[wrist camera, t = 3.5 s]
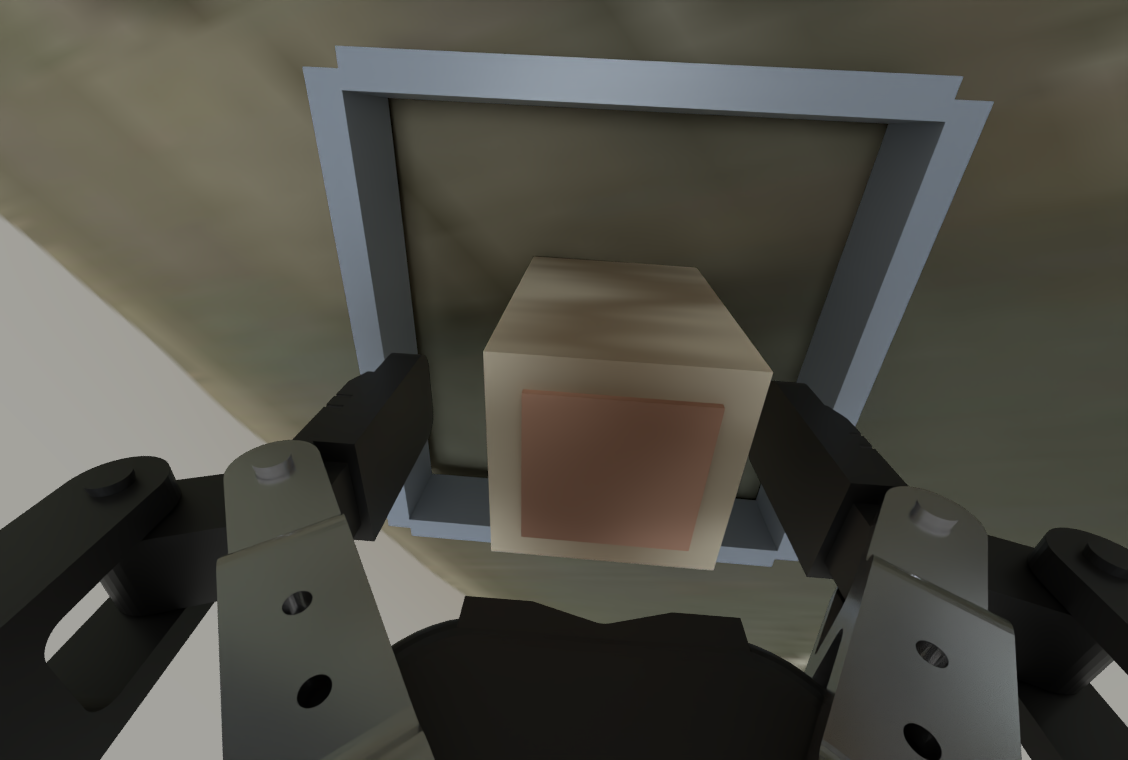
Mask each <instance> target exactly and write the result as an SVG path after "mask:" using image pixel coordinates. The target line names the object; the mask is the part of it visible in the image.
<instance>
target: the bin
mask: <svg viewBox="0 0 1128 760" xmlns="http://www.w3.org/2000/svg"><path fill="white" fill-rule="evenodd" d="M335 50H336V56H337V62H338V68H321V67H303V72H304V78H305V83H306V88H307V94H308V99H309V104H310V109H311V115H312V120H313V125H314V131H315V136H316V141H317V147H318V152H319V157H320V163H321V168H322V173H323V178H324V184H325V189H326V194H327V200H328V205H329V210H330V216H331V221H332V226H333V232H334V237H335V242H336V247H337V253H338V258H339V263H340V269H341V274H342V279H343V285H344V290H345V295H346V301H347V306H348V311H349V316H350V322H351V327H352V332H353V338H354V343H355V348H356V354H357V359H358V364H359V369H360V375H362V374H363V373H365V372H367V371H372V372H374V371H375V370H376V369H377V368H378V367H379V366H380V365H381V364H382V362H383V361H384V360H385V359H386V358H387V357H388V356H389V355H390V354H391V353H405V354H418V351H417V343H416V334H415V326H414V317H413V309H412V300H411V292H410V283H409V275H408V266H407V257H406V249H405V240H404V232H403V223H402V215H401V206H400V198H399V189H398V181H397V172H396V164H395V155H394V146H393V138H392V129H391V121H390V112H389V104H388V98H399V99H418V100H437V101H456V102H475V103H494V104H513V105H531V106H550V107H569V108H588V109H608V110H627V111H647V112H667V113H687V114H707V115H726V116H746V117H766V118H786V119H806V120H825V121H845V122H865V123H885V124H888V127H887V129H886V132H885V135H884V138H883V141H882V143H881V146H880V149H879V152H878V155H877V157H876V160H875V163H874V166H873V169H872V171H871V174H870V177H869V180H868V183H867V185H866V188H865V191H864V194H863V197H862V199H861V202H860V205H859V208H858V211H857V213H856V216H855V219H854V222H853V225H852V228H851V230H850V233H849V236H848V239H847V242H846V244H845V247H844V250H843V253H842V256H841V258H840V261H839V264H838V267H837V270H836V272H835V275H834V278H833V281H832V284H831V286H830V289H829V292H828V295H827V298H826V300H825V303H824V306H823V309H822V312H821V314H820V317H819V320H818V323H817V326H816V328H815V331H814V334H813V337H812V340H811V342H810V345H809V348H808V351H807V354H806V356H805V359H804V362H803V365H802V368H801V370H800V373H799V376H798V379H797V382H796V383H805V384H807V385H808V386H809V387H810V389H811V390H812V391H813V392H814V393H815V394H816V396H817V397H818V398H819V399H820V400H821V401H822V403H823V404H824V405H826V406H829V407H830V408H832V409H833V410H835V411H836V412H838V413H839V414H841V415H843V416H844V417H846V418H847V419H848V420H849V421H850V422H851V423H852V424H853V425H854V426H856V423H857V421H858V419H859V416H860V414H861V412H862V409H863V407H864V405H865V402H866V400H867V398H868V395H869V393H870V391H871V388H872V386H873V384H874V381H875V379H876V377H877V374H878V372H879V370H880V367H881V365H882V363H883V360H884V358H885V356H886V353H887V351H888V349H889V346H890V344H891V342H892V339H893V337H894V335H895V332H896V330H897V328H898V325H899V323H900V321H901V318H902V316H903V314H904V311H905V309H906V307H907V304H908V302H909V300H910V297H911V295H912V293H913V290H914V288H915V286H916V283H917V281H918V279H919V276H920V274H921V272H922V269H923V267H924V265H925V262H926V260H927V258H928V255H929V253H930V251H931V248H932V246H933V243H934V241H935V239H936V236H937V234H938V232H939V229H940V227H941V225H942V222H943V220H944V218H945V215H946V213H947V211H948V208H949V206H950V204H951V201H952V199H953V197H954V194H955V192H956V190H957V187H958V185H959V183H960V180H961V178H962V176H963V173H964V171H965V169H966V166H967V164H968V162H969V159H970V157H971V155H972V152H973V150H974V148H975V145H976V143H977V141H978V138H979V136H980V134H981V131H982V129H983V127H984V124H985V122H986V120H987V117H988V115H989V113H990V110H991V108H992V106H993V103H994V102H993V101H973V100H954V99H955V97H956V94H957V92H958V89H959V86H960V84H961V81H962V79H963V76H945V75H925V74H904V73H884V72H863V71H843V70H822V69H802V68H781V67H761V66H740V65H720V64H699V63H679V62H658V61H638V60H617V59H597V58H576V57H556V56H535V55H515V54H494V53H474V52H453V51H433V50H413V49H392V48H372V47H351V46H335ZM387 518H388V523H389V526H398V527H409V528H411V533H412V536H423V537H435V538H446V539H458V540H469V541H481V542H491V529H490V505H489V480H488V478H478V477H466V476H454V475H441V474H432V471H431V462H430V454H429V445H428V440H427V442H426V444H425V446H424V447H423V449H422V451H421V453H420V455H419V457H418V459H417V461H416V463H415V465H414V467H413V468H412V470H411V472H410V474H409V476H408V478H407V480H406V482H405V484H404V486H403V488H402V489H401V491H400V493H399V495H398V497H397V499H396V501H395V503H394V505H393V507H392V509H391V510H390V512H389V514H388V516H387ZM774 559H779V560H791V561H798V558H797V556H796V554H795V552H794V550H793V548H792V545H791V543H790V541H789V539H788V537H787V535H786V533H785V531H784V529H783V527H782V525H781V523H780V521H779V519H778V517H777V515H776V513H775V511H774V509H773V507H772V505H771V503H770V501H769V499H768V497H767V495H766V492H765V490H764V488H763V486H762V484H761V486H760V489H759V492H758V495H757V498H756V500H746V499H735V501H734V504H733V507H732V510H731V514H730V517H729V520H728V524H727V527H726V530H725V534H724V537H723V540H722V544H721V547H720V550H719V553H718V557H717V560H716V562H722V563H733V564H745V565H756V566H768V567H772V564H773V562H774Z"/></svg>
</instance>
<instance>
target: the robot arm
mask: <svg viewBox="0 0 1128 760" xmlns="http://www.w3.org/2000/svg"><path fill="white" fill-rule="evenodd" d="M432 424H433V405H432V395H431V384H430V374H429V365H428V360H427V358H426V356H425V355H419V354H405V353H391V354H390V355H389V356H388V357H387V358H386V359H385V360H384V361H383V362H382V364H381V365H380V366H379V367H378V368H377V369H376V370H375V371H374V372H372V371H367V372H365V373H363V374H362V375H360V376H358V377H356V378H354V379H352V380H350V381H348V382H347V383H346V385H345V386H344V387H343V388H342V389H341V390H340V391H339V392H338V393H337V396H334V397H333V398H332V399H331V400H330V401H329V402H328V403H327V406H326V407H323V408H322V409H321V410H320V412H319V413H318V414H317V415H316V416H315V417H314V418H313V419H312V420H311V421H310V422H309V423H308V424H307V425H306V426H305V427H304V428H303V429H302V430H301V431H300V432H299V433H298V434H297V435H296V436H295V438H294V439H293V440H283V441H277V442H272V443H268V444H265V445H261V446H259V447H256V448H254V449H252V450H250V451H248V452H246V453H244V454H243V455H241V456H239V457H238V458H237V459H235V460H234V461H233V462H232V463H231V464H230V465H229V466H228V468H227V469H226V471H225V473H224V474H219V475H213V476H204V477H197V478H189V479H182V480H176V479H175V477H174V475H173V473H172V470H171V468H170V466H169V464H168V463H167V462H166V461H165V460H163V459H161V458H158V457H152V456H138V457H130V458H124V459H120V460H116V461H112V462H109V463H105V464H102V465H100V466H97V467H94V468H92V469H90V470H88V471H85V472H83V473H81V474H79V475H78V476H76V477H74V478H72V479H71V480H69V481H68V482H66V483H65V484H64V485H62V486H61V487H59V488H58V489H56V490H55V491H54V492H52V493H51V494H50V495H48V496H47V497H45V498H44V499H43V500H41V501H40V502H39V503H37V504H36V505H34V506H33V507H31V508H30V509H29V510H27V511H26V512H25V513H23V514H22V515H20V516H19V517H18V518H16V519H15V520H13V521H12V522H11V523H9V524H8V525H6V526H5V527H4V528H2V529H1V530H0V760H100V759H101V758H102V756H103V755H104V753H105V752H106V751H107V749H108V748H109V747H110V745H111V744H112V742H113V741H114V740H115V738H116V737H117V736H118V734H119V733H120V732H121V730H122V729H123V727H124V726H125V725H126V723H127V722H128V720H129V719H130V718H131V716H132V715H133V714H134V712H135V711H136V709H137V708H138V707H139V705H140V704H141V703H142V701H143V700H144V698H145V697H146V696H147V694H148V693H149V692H150V690H151V689H152V687H153V686H154V685H155V683H156V682H157V681H158V679H159V677H160V676H161V675H162V674H163V672H164V671H165V670H166V668H167V667H168V665H169V664H170V662H171V661H172V659H173V658H174V657H175V656H176V654H177V653H178V652H179V650H180V649H181V647H182V646H183V645H184V643H185V642H186V641H187V639H188V638H189V636H190V635H191V634H192V632H193V631H194V630H195V628H196V627H197V625H198V624H199V623H200V621H201V620H202V618H203V617H204V616H205V614H206V613H207V611H208V610H209V609H210V607H211V606H212V605H213V603H214V602H216V601H217V604H218V633H219V662H220V690H221V718H222V747H223V760H1022V757H1021V744H1022V746H1023V748H1024V749H1025V750H1026V752H1027V754H1028V755H1029V757H1030V758H1031V760H1128V727H1127V726H1126V725H1125V724H1124V722H1123V721H1122V720H1121V719H1120V718H1119V717H1118V715H1117V714H1116V713H1115V712H1114V711H1113V710H1112V708H1111V707H1110V706H1109V705H1108V704H1107V703H1106V701H1105V700H1104V699H1103V698H1102V697H1101V696H1100V694H1099V693H1098V692H1097V691H1096V690H1095V689H1094V687H1093V686H1092V685H1091V684H1090V682H1091V681H1092V680H1093V679H1094V678H1095V677H1096V676H1097V675H1098V674H1099V673H1101V672H1102V671H1103V670H1104V669H1105V668H1106V667H1107V666H1108V665H1109V664H1110V663H1112V662H1113V661H1115V662H1116V663H1117V664H1118V665H1119V666H1120V667H1121V668H1122V669H1123V670H1124V671H1125V673H1126V674H1127V675H1128V549H1126V548H1125V547H1123V546H1121V545H1119V544H1117V543H1114V542H1112V541H1110V540H1108V539H1105V538H1103V537H1100V536H1097V535H1094V534H1091V533H1088V532H1085V531H1081V530H1077V529H1071V528H1054V529H1051V530H1049V531H1048V532H1047V533H1046V534H1045V536H1044V537H1043V538H1042V539H1041V541H1040V542H1039V543H1038V544H1037V546H1036V547H1035V548H1033V547H1029V546H1025V545H1022V544H1018V543H1015V542H1011V541H1008V540H1004V539H1000V538H997V537H993V536H990V535H987V532H986V530H985V528H984V527H983V525H982V524H981V522H980V521H979V520H978V519H977V518H976V517H975V516H974V515H972V514H971V513H970V512H969V511H967V510H966V509H965V508H963V507H962V506H960V505H959V504H957V503H955V502H954V501H952V500H950V499H948V498H946V497H944V496H942V495H939V494H937V493H934V492H931V491H928V490H925V489H921V488H916V487H910V486H908V485H907V484H906V483H905V482H904V481H903V480H902V478H901V477H900V476H899V475H898V474H897V473H896V472H895V471H894V470H893V468H892V467H891V466H890V465H889V464H888V463H887V462H886V461H885V460H884V459H883V457H882V456H881V455H880V454H879V453H878V452H877V451H876V450H875V449H872V445H871V444H870V443H869V442H868V441H867V440H866V439H865V437H864V436H861V433H860V432H859V431H858V430H857V429H856V427H855V426H854V425H853V424H852V423H851V422H850V421H849V420H848V419H847V418H846V417H844V416H843V415H841V414H839V413H838V412H836V411H835V410H833V409H832V408H830V407H829V406H826V405H824V404H823V403H822V401H821V400H820V399H819V398H818V397H817V396H816V394H815V393H814V392H813V391H812V390H811V389H810V387H809V386H808V385H807V384H805V383H795V382H781V381H770V385H769V388H768V391H767V395H766V398H765V401H764V405H763V408H762V411H761V415H760V418H759V421H758V424H757V428H756V431H755V434H754V438H753V441H752V444H751V448H750V451H749V459H750V462H751V464H752V466H753V468H754V470H755V472H756V474H757V476H758V478H759V480H760V482H761V484H762V486H763V488H764V490H765V492H766V495H767V497H768V499H769V501H770V503H771V505H772V507H773V509H774V511H775V513H776V515H777V517H778V519H779V521H780V523H781V525H782V527H783V529H784V531H785V533H786V535H787V537H788V539H789V541H790V543H791V545H792V548H793V550H794V552H795V554H796V556H797V558H798V560H799V562H800V564H801V566H802V568H803V570H804V572H805V574H806V576H807V577H815V578H827V579H834V581H835V583H836V585H837V588H836V590H835V591H834V593H833V595H832V597H831V599H830V602H829V605H828V608H827V611H826V613H825V616H824V619H823V622H822V625H821V627H820V630H819V633H818V636H817V639H816V642H815V644H814V647H813V650H812V653H811V656H810V658H809V661H808V664H807V667H806V669H805V672H803V671H801V670H800V669H798V668H797V667H795V666H794V665H793V664H791V663H789V662H788V661H786V660H784V659H782V658H780V657H779V656H777V655H775V654H773V653H771V652H769V651H767V650H765V649H762V648H760V647H758V646H756V645H753V644H750V643H748V641H747V638H746V635H745V632H744V628H743V625H742V622H741V619H740V618H734V617H721V616H709V615H696V614H684V613H667V614H661V615H656V616H650V617H644V618H638V619H633V620H627V621H621V622H616V623H610V624H600V623H596V622H593V621H590V620H587V619H584V618H581V617H578V616H575V615H572V614H569V613H566V612H563V611H560V610H557V609H554V608H551V607H548V606H545V605H542V604H539V603H536V602H533V601H522V600H509V599H497V598H484V597H472V596H465V599H464V602H463V606H462V610H461V614H460V617H459V619H455V620H449V621H445V622H442V623H439V624H435V625H432V626H429V627H427V628H425V629H422V630H420V631H417V632H415V633H413V634H411V635H409V636H407V637H406V638H404V639H402V640H400V641H398V642H397V643H395V644H394V645H392V646H391V644H390V641H389V638H388V636H387V633H386V630H385V627H384V625H383V622H382V619H381V616H380V613H379V610H378V608H377V605H376V602H375V599H374V596H373V593H372V591H371V588H370V585H369V583H368V579H367V576H366V574H365V571H364V569H363V565H362V563H361V560H360V557H359V554H358V551H357V548H356V545H355V543H354V540H365V541H375V539H376V537H377V535H378V533H379V531H380V530H381V528H382V526H383V524H384V522H385V520H386V518H387V516H388V514H389V512H390V510H391V509H392V507H393V505H394V503H395V501H396V499H397V497H398V495H399V493H400V491H401V489H402V488H403V486H404V484H405V482H406V480H407V478H408V476H409V474H410V472H411V470H412V468H413V467H414V465H415V463H416V461H417V459H418V457H419V455H420V453H421V451H422V449H423V447H424V446H425V444H426V442H427V440H428V438H429V436H430V433H431V429H432ZM99 582H101V583H102V585H103V587H104V588H105V590H106V591H107V593H108V595H109V596H110V597H109V598H108V599H107V600H106V601H105V602H104V603H103V604H102V605H101V607H100V608H99V609H98V610H97V611H96V612H95V613H94V614H93V615H92V616H91V617H90V618H89V619H88V620H87V621H86V622H85V623H84V624H83V625H82V626H81V628H79V629H78V630H77V631H76V633H75V634H74V635H73V636H72V637H71V638H70V639H69V640H68V641H67V642H66V643H65V644H64V645H63V646H62V647H61V648H60V650H58V652H56V654H54V655H53V657H52V658H51V659H50V660H49V661H48V662H47V663H46V662H45V658H44V652H45V646H46V643H47V640H48V638H49V636H50V634H51V632H52V630H53V629H54V628H55V626H56V625H57V624H58V622H59V621H60V620H61V619H62V618H63V617H64V616H65V615H66V614H67V613H68V612H69V611H70V610H71V609H72V608H73V607H74V606H75V605H76V604H77V603H78V602H79V601H80V600H81V599H82V598H83V597H84V596H85V595H86V594H87V593H88V592H89V591H90V590H91V589H92V588H94V587H95V586H96V584H97V583H99Z"/></svg>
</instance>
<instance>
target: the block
mask: <svg viewBox="0 0 1128 760" xmlns="http://www.w3.org/2000/svg"><path fill="white" fill-rule="evenodd" d="M483 359H484V383H485V408H486V432H487V456H488V480H489V505H490V529H491V551H498V552H509V553H521V554H532V555H543V556H555V557H566V558H577V559H589V560H600V561H611V562H623V563H634V564H645V565H657V566H668V567H680V568H691V569H702V570H714V567H715V563H716V560H717V557H718V553H719V550H720V547H721V544H722V540H723V537H724V534H725V530H726V527H727V524H728V520H729V517H730V514H731V510H732V507H733V504H734V501H735V497H736V494H737V491H738V487H739V484H740V481H741V477H742V474H743V471H744V467H745V464H746V461H747V458H748V454H749V451H750V448H751V444H752V441H753V438H754V434H755V431H756V428H757V424H758V421H759V418H760V415H761V411H762V408H763V405H764V401H765V398H766V395H767V391H768V388H769V385H770V381H771V378H772V375H773V371H772V370H771V368H770V367H769V366H768V364H767V363H766V362H765V360H764V359H763V358H762V356H761V355H760V353H759V352H758V351H757V349H756V348H755V347H754V345H753V344H752V342H751V341H750V340H749V338H748V337H747V336H746V334H745V333H744V332H743V330H742V329H741V327H740V326H739V325H738V323H737V322H736V321H735V319H734V318H733V317H732V315H731V314H730V312H729V311H728V310H727V308H726V307H725V306H724V304H723V303H722V301H721V300H720V299H719V297H718V296H717V295H716V293H715V292H714V291H713V289H712V288H711V286H710V285H709V284H708V282H707V281H706V280H705V278H704V277H703V276H702V274H701V273H700V271H699V270H698V269H697V268H695V267H682V266H669V265H655V264H642V263H628V262H613V261H597V260H581V259H566V258H550V257H535V256H533V258H532V260H531V262H530V264H529V266H528V268H527V270H526V272H525V273H524V275H523V277H522V279H521V281H520V283H519V285H518V287H517V289H516V290H515V292H514V294H513V296H512V298H511V300H510V302H509V304H508V305H507V307H506V309H505V311H504V313H503V315H502V317H501V319H500V321H499V322H498V324H497V326H496V328H495V330H494V332H493V334H492V336H491V338H490V339H489V341H488V343H487V345H486V347H485V349H484V351H483Z"/></svg>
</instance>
